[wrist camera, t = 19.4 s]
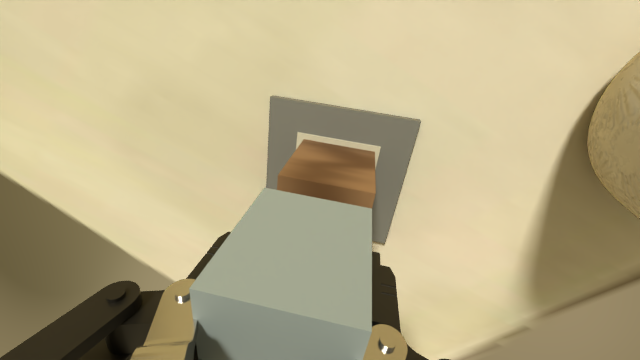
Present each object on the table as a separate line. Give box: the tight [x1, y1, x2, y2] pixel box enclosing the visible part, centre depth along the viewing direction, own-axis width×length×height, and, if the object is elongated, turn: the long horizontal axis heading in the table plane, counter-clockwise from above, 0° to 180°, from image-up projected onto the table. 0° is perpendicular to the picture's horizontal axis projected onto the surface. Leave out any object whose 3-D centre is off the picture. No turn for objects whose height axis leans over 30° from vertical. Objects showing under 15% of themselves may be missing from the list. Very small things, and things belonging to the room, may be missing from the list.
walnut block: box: [277, 139, 376, 209], centre depth 18 cm, size 5×5×6 cm
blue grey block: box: [189, 188, 372, 360], centre depth 11 cm, size 5×5×6 cm
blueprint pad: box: [266, 96, 421, 244], centre depth 21 cm, size 10×10×1 cm
